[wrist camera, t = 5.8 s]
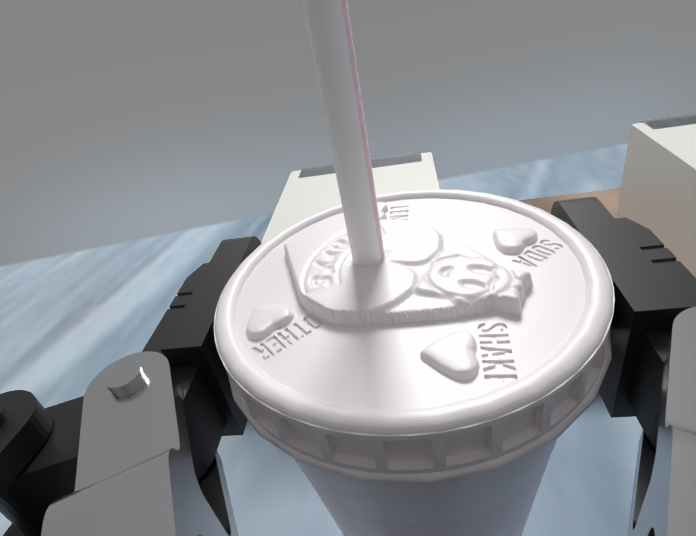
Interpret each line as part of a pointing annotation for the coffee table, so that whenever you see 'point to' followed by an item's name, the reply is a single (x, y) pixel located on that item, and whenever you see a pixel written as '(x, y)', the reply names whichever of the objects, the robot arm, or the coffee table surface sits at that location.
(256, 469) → the coffee table surface
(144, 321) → the coffee table surface
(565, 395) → the smoothie
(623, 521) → the coffee table surface
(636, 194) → the rail board
